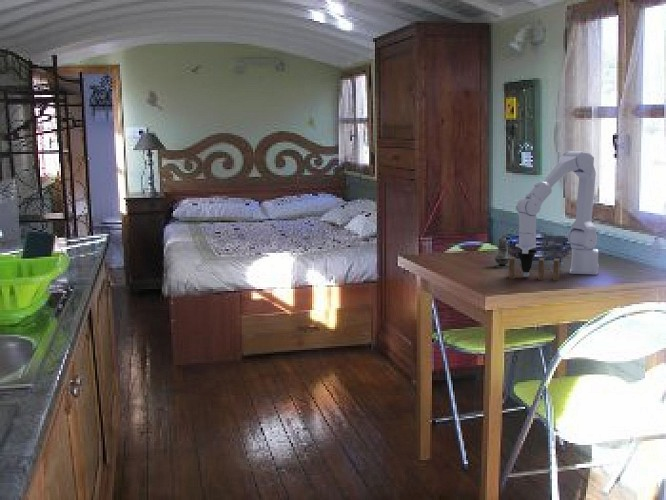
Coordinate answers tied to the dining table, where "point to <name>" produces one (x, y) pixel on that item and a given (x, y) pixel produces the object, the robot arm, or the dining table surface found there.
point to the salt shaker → (502, 254)
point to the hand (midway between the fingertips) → (526, 270)
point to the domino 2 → (525, 274)
